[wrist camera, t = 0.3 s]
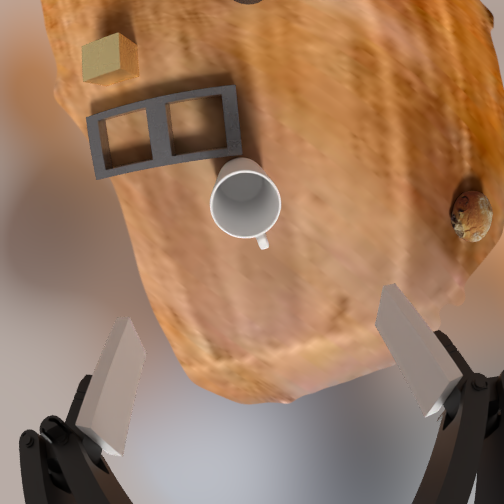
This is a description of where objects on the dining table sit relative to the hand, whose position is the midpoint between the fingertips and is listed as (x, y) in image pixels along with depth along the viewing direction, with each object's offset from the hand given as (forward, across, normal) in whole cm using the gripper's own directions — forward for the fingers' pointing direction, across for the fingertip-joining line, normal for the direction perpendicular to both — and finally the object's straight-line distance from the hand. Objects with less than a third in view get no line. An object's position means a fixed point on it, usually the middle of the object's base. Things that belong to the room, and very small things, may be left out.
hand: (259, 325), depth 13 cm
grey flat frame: (+27, -9, +10) cm, 30 cm away
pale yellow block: (+27, -14, +21) cm, 37 cm away
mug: (+27, +1, 0) cm, 27 cm away
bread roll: (+27, +42, -7) cm, 51 cm away
